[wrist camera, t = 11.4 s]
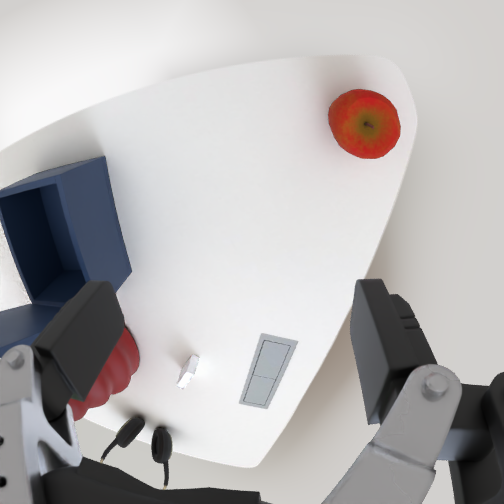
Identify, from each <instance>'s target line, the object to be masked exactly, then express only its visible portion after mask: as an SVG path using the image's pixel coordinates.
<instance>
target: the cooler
mask: <svg viewBox="0 0 504 504" xmlns="http://www.w3.org/2000/svg"><path fill="white" fill-rule="evenodd" d="M0 220H1V224H2V227H3V230H4V233H5V236H6V239H7V242H8V245H9V248H10V251H11V254H12V256H13V259H14V262H15V264H16V267H17V269H18V272H19V274H20V277H21V279H22V282H23V284H24V286H25V289H26V291H27V293H28V296H29V298H30V300H31V302H32V304H37V305H47V306H57V307H63V306H64V304H65V303H66V302H67V301H68V300H70V299H71V298H73V297H74V296H75V295H76V294H77V293H78V292H79V291H80V290H81V288H82V287H83V286H84V285H85V284H86V283H87V282H88V281H90V280H96V281H109V282H110V283H111V284H112V286H113V288H114V291H115V293H116V292H117V290H118V289H119V288H120V286H121V285H122V284H123V282H124V281H125V280H126V279H127V277H128V276H129V275H130V273H131V272H132V270H131V266H130V263H129V259H128V256H127V252H126V248H125V245H124V241H123V237H122V233H121V229H120V225H119V221H118V217H117V213H116V208H115V204H114V199H113V195H112V190H111V185H110V180H109V175H108V170H107V165H106V159H105V156H102V157H98V158H93V159H89V160H85V161H81V162H77V163H73V164H69V165H65V166H61V167H57V168H54V169H50V170H46V171H43V172H40V173H36V174H34V175H32V176H29V177H27V178H25V179H23V180H20V181H18V182H16V183H14V184H12V185H10V186H8V187H5V188H3V189H1V190H0Z"/></svg>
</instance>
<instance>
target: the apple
mask: <svg viewBox="0 0 504 504" xmlns="http://www.w3.org/2000/svg"><path fill="white" fill-rule="evenodd" d="M328 119H329V125H330V127H331V130H332V133H333V135H334V138H335V139H336V141H337V142H338V144H339V146H340V147H342V148H343V149H344V150H345V151H347V152H349V153H350V154H352V155H354V156H356V157H359V158H362V159H376V158H380V157H382V156H384V155H386V154H387V153H388V152H389V151H390V150H391V149H392V148H393V147H395V145H396V143H397V141H398V139H399V137H400V128H401V126H400V122H399V118H398V114H397V110H396V108H395V107H394V106H393V104H392V103H391V102H390V100H388V99H387V98H386V97H385V96H383V95H381V94H379V93H376V92H374V91H370V90H363V89H355V90H351V91H348V92H346V93H344V94H342V95H340V96H339V97H338V98H337V99H336V100H335V101H334V102H333V103H332V104H331V106H330V108H329V113H328Z"/></svg>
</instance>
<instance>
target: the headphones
mask: <svg viewBox="0 0 504 504" xmlns="http://www.w3.org/2000/svg"><path fill="white" fill-rule="evenodd" d="M144 425H145V422H144V421H143V420H142V419H141V418H131V419H130V420H128V421H127V422H126V423H125V424H124V425H123V426H122V427H121V428H120V430H119V431H118V433H117V435H116V438H115V440H114V441H113V442H112V443H111V444H110V445H109V446H108V448H107V449H106V450H105V451H104V453H103V455H102V457H101V461H100V463H102V462H103V460H104V459H105V457H106V456H107V454H108V453H109V452H110V450H111V449H112V448H113V447H114V446H116V445H117V444H118V445H119V446H120V447H122V448H125V447H127V446H128V445H129V444H130V443H131V442H132V441H133V440H134V438H135V437H136V436H137V435H138V434H139V433H140V431H141V430H142V429H143V427H144ZM151 449H152V457H153V459H154V461H155V462H157V463H163V464H164V472H165V480H164V488H163V490H165V489H166V487H167V485H168V479H169V468H168V460H169V459H170V457H171V454H172V438H171V436H170V435H169V433H168V432H167V431H166V430H165V429H163V428H158V429H156V430H155V431H154V433H153V437H152V446H151Z"/></svg>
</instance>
